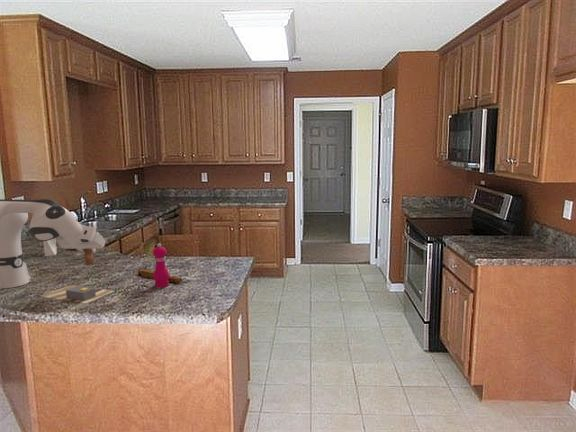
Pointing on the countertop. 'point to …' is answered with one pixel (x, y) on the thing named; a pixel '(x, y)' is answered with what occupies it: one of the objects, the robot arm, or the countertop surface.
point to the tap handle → (150, 273)
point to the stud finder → (80, 293)
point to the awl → (88, 257)
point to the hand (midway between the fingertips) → (89, 251)
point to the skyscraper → (50, 248)
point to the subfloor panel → (62, 296)
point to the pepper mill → (160, 267)
